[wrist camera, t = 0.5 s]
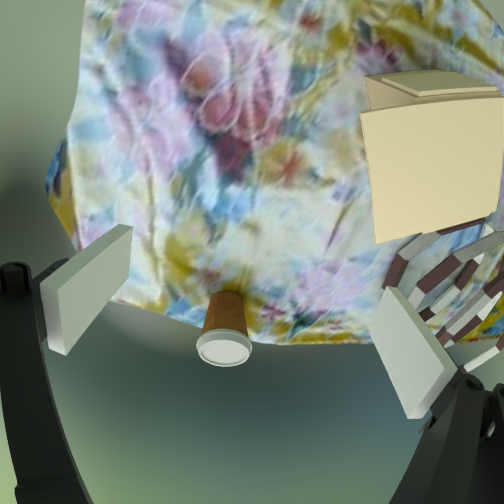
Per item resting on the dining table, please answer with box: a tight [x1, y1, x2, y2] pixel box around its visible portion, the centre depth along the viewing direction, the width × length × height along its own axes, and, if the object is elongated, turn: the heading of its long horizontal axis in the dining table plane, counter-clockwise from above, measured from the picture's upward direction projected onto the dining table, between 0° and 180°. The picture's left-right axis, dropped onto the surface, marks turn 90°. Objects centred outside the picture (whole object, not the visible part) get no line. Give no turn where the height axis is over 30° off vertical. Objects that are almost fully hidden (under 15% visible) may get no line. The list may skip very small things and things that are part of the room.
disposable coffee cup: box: [197, 291, 252, 366], centre depth 55 cm, size 10×10×12 cm
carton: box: [365, 69, 501, 234], centre depth 32 cm, size 17×12×14 cm
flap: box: [359, 96, 504, 244], centre depth 27 cm, size 15×18×1 cm
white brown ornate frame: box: [382, 217, 504, 373], centre depth 48 cm, size 24×27×35 cm
